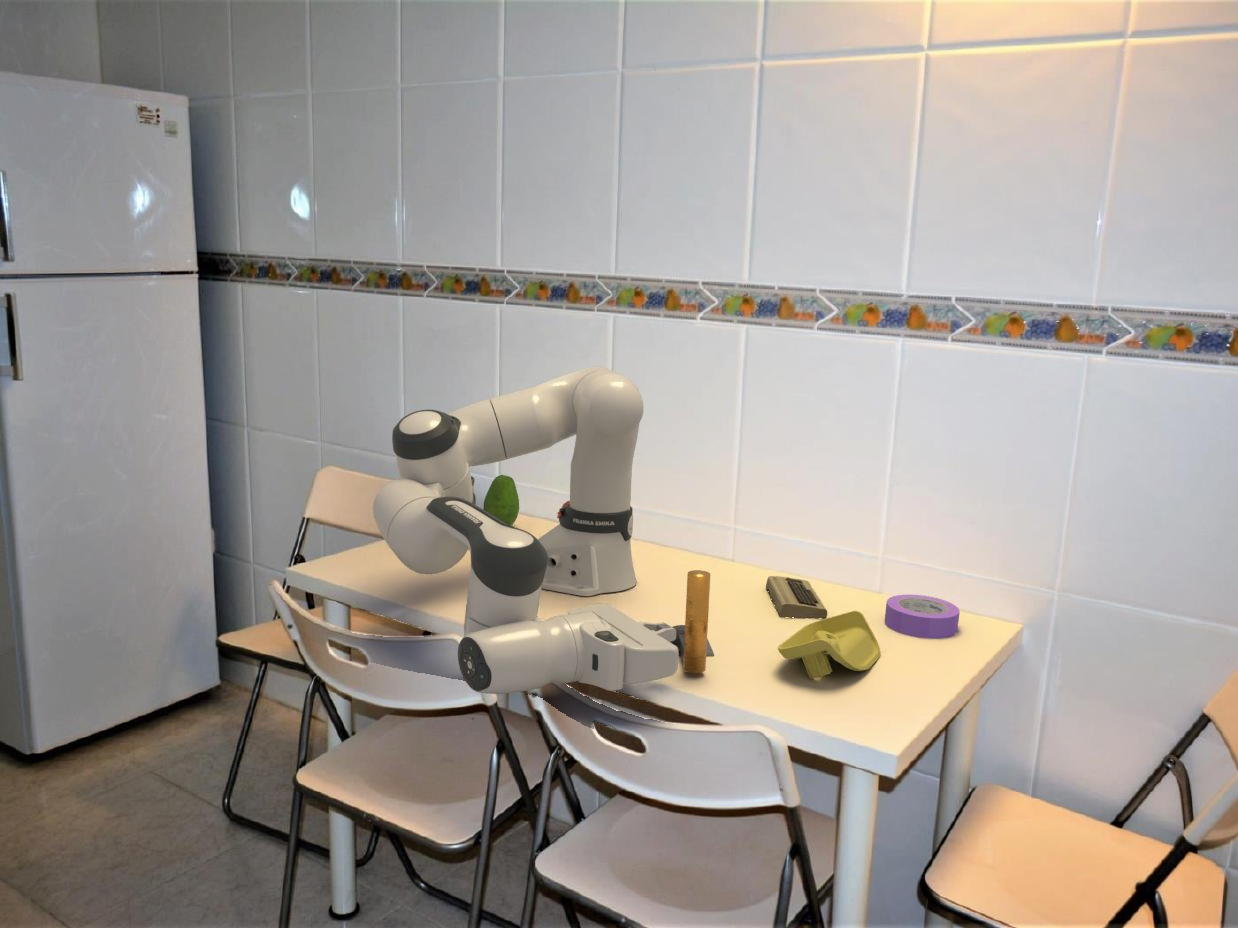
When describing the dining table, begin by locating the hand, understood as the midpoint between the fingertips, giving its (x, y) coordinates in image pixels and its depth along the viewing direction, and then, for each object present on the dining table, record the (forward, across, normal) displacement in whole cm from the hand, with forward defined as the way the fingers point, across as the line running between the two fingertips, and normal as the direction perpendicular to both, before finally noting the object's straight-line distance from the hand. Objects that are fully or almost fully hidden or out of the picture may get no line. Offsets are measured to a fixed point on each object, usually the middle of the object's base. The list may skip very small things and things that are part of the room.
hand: (670, 630), depth 142 cm
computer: (+39, -20, -8) cm, 44 cm away
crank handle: (+7, -6, -7) cm, 11 cm away
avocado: (+11, -87, -8) cm, 88 cm away
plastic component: (+25, +4, -8) cm, 26 cm away
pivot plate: (+9, -11, -7) cm, 16 cm away
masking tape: (+51, -2, -8) cm, 51 cm away
